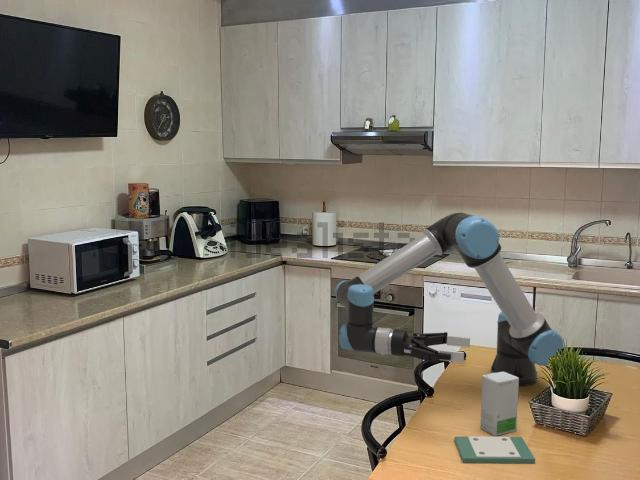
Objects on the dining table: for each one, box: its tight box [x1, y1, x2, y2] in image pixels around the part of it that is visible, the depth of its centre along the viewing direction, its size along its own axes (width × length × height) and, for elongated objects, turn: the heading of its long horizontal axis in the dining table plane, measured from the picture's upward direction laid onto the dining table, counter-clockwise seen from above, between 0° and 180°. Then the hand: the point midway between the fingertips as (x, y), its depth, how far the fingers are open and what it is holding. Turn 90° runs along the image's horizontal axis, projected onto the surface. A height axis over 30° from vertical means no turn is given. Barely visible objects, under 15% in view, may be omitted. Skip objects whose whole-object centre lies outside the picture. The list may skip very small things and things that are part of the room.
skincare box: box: [479, 372, 520, 437], centre depth 181 cm, size 8×7×16 cm
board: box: [453, 435, 536, 464], centre depth 169 cm, size 18×12×2 cm, turn 89°
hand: (467, 349), depth 182 cm, fingers open, 13 cm apart
